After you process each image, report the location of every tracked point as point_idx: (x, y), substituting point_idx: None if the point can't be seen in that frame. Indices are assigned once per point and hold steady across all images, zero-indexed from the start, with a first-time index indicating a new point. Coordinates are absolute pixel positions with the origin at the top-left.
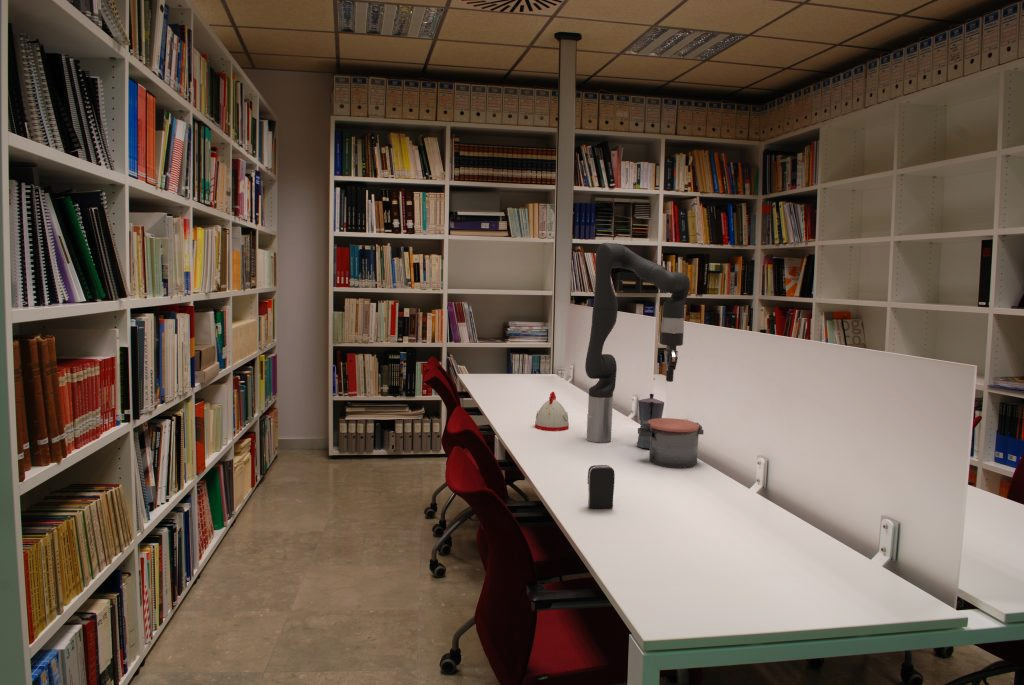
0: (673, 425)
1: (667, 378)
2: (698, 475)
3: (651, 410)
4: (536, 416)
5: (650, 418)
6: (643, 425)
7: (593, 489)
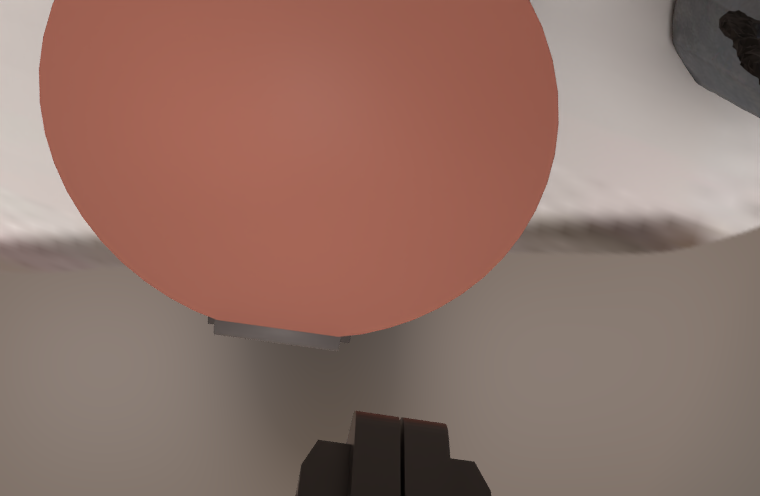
0: (183, 106)
1: (353, 463)
2: (13, 84)
3: (749, 63)
4: None
5: (749, 38)
6: None
7: None
